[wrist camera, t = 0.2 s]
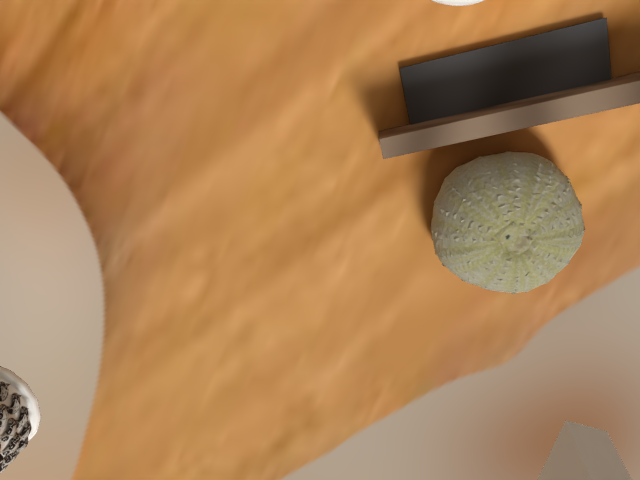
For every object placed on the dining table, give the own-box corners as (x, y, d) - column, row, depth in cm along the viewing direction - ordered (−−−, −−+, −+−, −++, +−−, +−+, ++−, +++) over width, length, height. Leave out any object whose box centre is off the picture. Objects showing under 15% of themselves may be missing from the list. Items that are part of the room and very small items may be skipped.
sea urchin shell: (516, 325, 37) (465, 311, 31) (445, 245, 42) (388, 220, 36) (625, 225, 34) (592, 189, 28) (535, 152, 39) (490, 107, 33)
